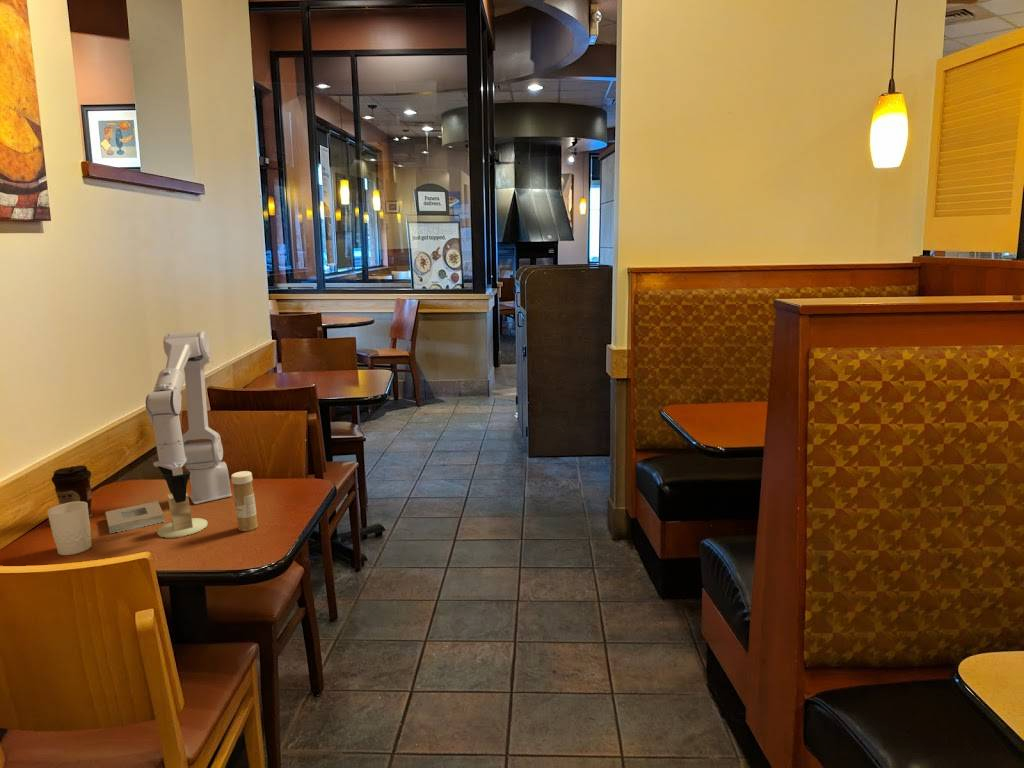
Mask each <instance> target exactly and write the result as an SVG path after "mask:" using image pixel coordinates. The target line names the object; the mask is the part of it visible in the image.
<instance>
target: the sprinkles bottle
mask: <svg viewBox="0 0 1024 768" xmlns="http://www.w3.org/2000/svg"><path fill="white" fill-rule="evenodd" d="M230 479H231V484H232V486H233V493H234V503H235V510H236V517H237V524H238V525H237V530H239V531H241V532H251V531H253V530H255V529H257V528H258V527H259V522H258V518H257V507H256V499H255V492H254V488H253V473H252V472H251V471H248V470H244V471H237V472H234V473H232V474H231V476H230Z"/></svg>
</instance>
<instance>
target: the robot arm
mask: <svg viewBox="0 0 1024 768" xmlns="http://www.w3.org/2000/svg"><path fill="white" fill-rule="evenodd" d="M162 344H163V351H164V353H165V355H166V357H167V359H166V365H165V368H164V369H162V370H161V371H160V372H159V373H158V376H157V379H156V381H155V385H154V388H153V391H151V392H150V393H149V394H147V395H146V396H145V402H144V403H145V411H146V415H148V418H149V424H150V425H152V426H153V427H152V429H153V434H154V441H155V446H156V453H157V457H158V460H157V461H153V466H154V467H156V468H157V467H158V470H159V471H160V472H161V473H162V477H163V479H164V480H165V481H166V484H167V488H168V490H169V492H170V494H172V495H173V498H174V500H175V502H176V503H179V502H183V501H185V500H186V493H187V486H188V481H190V486H191V494H189V495H188V497H189V498H190V500H191V502H192V503H193V505H198V504H202V503H207V502H211V501H216V500H221V499H225V498H230V497H232V496H233V494H232V490H231V482H230V474H229V470H228V466H227V463H226V462H225V461H222V460H223V457H224V448H223V443H222V440H221V435H220V434H219V432H218V431H215V430H214V429H212V428H211V427H210V426H209V419H208V418H209V417H208V407H207V394H206V393H207V392H206V380H205V366H206V365H207V364H209V363H211V348H210V344H211V343H210V340H209V336H208V334H207V333H206V332H205V331H204V330H201V331H193V332H192V331H191V332H179V333H176V332H175V333H166V334H165V336H164V337H163V342H162ZM183 372H184V374H183ZM184 383H185V384H184ZM184 385H185V395H186V407H187V409H186V411H187V421H188V423H187V424H188V430H187V431H186V432H184V433H183V432H182V426H181V420H180V413H181V411H182V399H183V398H182V394H181V392H182V389H183V386H184ZM206 439H207V440H206ZM195 440H196V441H195ZM197 440H198V441H197ZM184 466H185V469H186V471H183V468H184Z"/></svg>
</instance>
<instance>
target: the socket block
mask: <svg viewBox="0 0 1024 768" xmlns="http://www.w3.org/2000/svg"><path fill="white" fill-rule="evenodd" d="M104 513H105V517H106V523H107V527H108V531H109V535H112V534H111V533H114V534H116V533H115V532H118V533H122V532H121V531H123V532H126V531H125V530H127V531H130V530H135V529H139V528H140V529H141V528H144V526H145V527H148V525H149V526H153V524H154V525H157V523H158V524H162V523H161V522H163V523H165V522H166V521H165V515H164V512H163V510H162V507H161V505H160V503H159V501H158V500H154V501H150V502H145V503H141V504H137V505H131V506H127V507H122V508H116V509H113V510H108V511H105V512H104Z"/></svg>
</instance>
